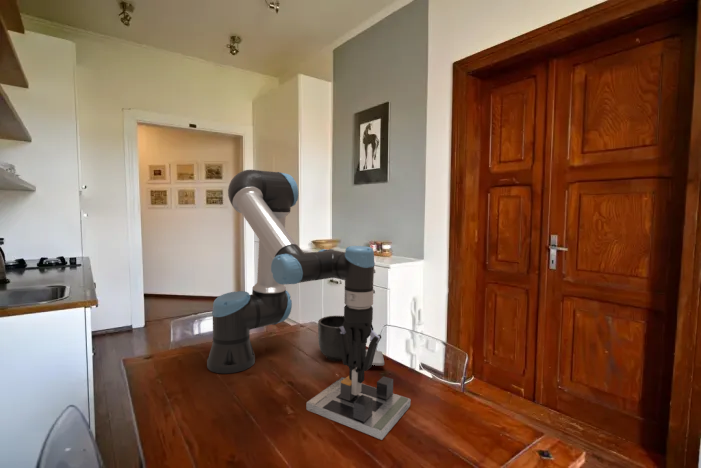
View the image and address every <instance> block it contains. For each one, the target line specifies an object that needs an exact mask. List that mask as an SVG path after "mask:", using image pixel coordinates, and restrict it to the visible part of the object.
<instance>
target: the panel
mask: <svg viewBox="0 0 701 468" xmlns="http://www.w3.org/2000/svg"><path fill="white" fill-rule="evenodd" d="M345 378H346V377H343V376H341V378H340V377H339V379H337V380H335V382H333V383H332V384H331V385H329V386H327V387H326V388H325V389H323V390H322V391H320V392H319V393H317V394H316V395H315V396H313V397H312V398H310V399H309V400H308V401H306V402H305V403H306V405H305V406H306V409H305V410H306V411H308V412H311V413H314V414H315V415H316V414H317V415H319V416H321V417H323V418H326V419H328V420H330V421H333V422H336V423H338V424H340V425H344V426H346V427H347V428H348V427H349V428H351V429H353V430H355V431H359V432H361V433H363V434H366V435H368V436H371V437H374V438H375V439H378V440H381V441H382V440H384V438H386V436H387V435H388V433H389V432H391V430H392V429H393V427H394V426H395V425H396V424H397V423H398V421H399V420H400V419H401V418H402V417H403V416H404V414H405V413H406V412H407V411H408V410H409V409H410V407H411V400H412V399H411V398H409V397H406V396H403V395H399V394H397V393H396V394H395V393H394V378H390V377H387V376H382V377H381V378H380V379H379V380H377V381H376V387H375V386H371V385H367V384H365V383H362V385H361V392H360V393H359V394H358V395H356V396H355V397H354V398H353V399H352V400H350V401H349V400H346V399H343V398H340V392H341V381H342V380H344V379H345Z"/></svg>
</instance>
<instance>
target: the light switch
mask: <svg viewBox="0 0 701 468" xmlns="http://www.w3.org/2000/svg"><path fill="white" fill-rule="evenodd" d="M367 351H368V348H366V355H367ZM372 365H373V367H375V366H382V367H383V366H384V365H385V360H384V354H383V352H382V351H380V350H379V351H378V350H376V351H375V355H374V359H373V363H372ZM374 365H375V366H374Z"/></svg>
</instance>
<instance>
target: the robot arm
mask: <svg viewBox="0 0 701 468" xmlns="http://www.w3.org/2000/svg"><path fill="white" fill-rule="evenodd" d="M227 194H228V195H227V196H228V200H229V202H230V205H231V206H232V207H233V209H234V210H235V211H236V212H238V213H239V214H242V216H243V217H244V219H245V221H246V222H247V223H248V225H249V227H250V228H251V229H252V231H253V233H255V235H256V237H257V238H258V256H257V257H258V259H257V279H256V280H257V281H256V283H255V284H254V285H253V286H252V291H251V294H250V293H249V292H248V291H243V290H239V291H230V292H226V293H222V294H221V295H218V297H216V298H215V299H214V301H213V303H212V313H211V315H212V344H211V348H210V351H209V355H208V357H207V359H206V360H207V361H206V367H207V370H209V371H210V372H212V373H215V374H216V373H217V374H235V373H238V372H239V373H240V372H242V371H245V370H248V369H250V368H251V367H252V366H254V364H255V363H256V362H255V361H256V355H255V352H254V348H253V345H252V343H251V342H252V341H251V340H250V338H251V337H250V333H251V332H250V331H251V330H254V329H258V328H263V327H267V326H271V325H272V326H274V325H277V324H279V323H282V322H283V323H284V321H286V320H287V319H288V318H289V316H290V314H291V312H292V307H293V302H292V298H291V294H290V293H289V291H288V290H287V289H286V286H285V285H295V284H302V283H305V282H306V283H308V282H312V281H321V280H328V279H338V280H343V281H344V305H345V306H344V307H343V316H344V319H345V321H344V323H343V326H341V327H339V328H336V330H335V331H336V333H337V335H338V338H339V343H340V349H341V355H342V360H343V361H342V364H343V365H344V366H347V367H348V369H349V370H348V371H349V373H348V376H349V379H350V380H352V390H351V394H353V395H355V396H356V395H358V394H359V393H360V392H361V385H362V384H363V382H364V381H365V372H367V371H368V370H369V369H371V368H372V363H373V359H374V355H375V351H377V347H378V343H379V342H380V341H381V340H382V335H381V334H377V333H376V332H375V330H374V327H373V321H374V320H373V318H374V313H373V312H374V307H373V304H374V279H375V278H374V277H375V276H374V275H375V252H374V248H373V247H370V246H366V245H365V246H364V245H351V246H347V247H346V248H345V251H339V250H334V249H330V248H329V249H325V248H324V249H323V248H322V249H319V251H312V252H304V251H303V250H302V248H300V246H299V245H298V244H297V242H296V241H295V240H294V238H293V237H292V236H291V235H290V233H289V231H287V229H286V218H287V216H288V215H290V214H291V208H293V207H294V206H295V205H296V204H297V202H298V201H299V188H298V184H297V182H296V180H295V178H294V177H293V176H292V175H291V174H289V173H285V172H279V171H270V170H269V171H267V170H258V169H246V170H242V171H240V172H238V173H236V175H235V176H234V177H232V179H231V180H230V182H229V185H228V189H227ZM347 335H348V338H347ZM369 337H370V338H369ZM368 339H369V341H370V342H369V343H368ZM367 343H368V344H369V345H368V348H367ZM367 349H368V351H367V355H366V350H367Z"/></svg>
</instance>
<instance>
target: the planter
mask: <svg viewBox="0 0 701 468" xmlns="http://www.w3.org/2000/svg"><path fill="white" fill-rule="evenodd" d="M344 321H345V319H344V315H329V316H324V317H321V318H320V319H318V320H317V334H318V335H317V336H318V346H319V350H320V352H321V353H322V355H323V356H325V358H326V359H327V360H330V361H332V362H343V360H342V355H341V349H340V343H339V338H338V335H337V333H336V331H335V330H336V328H339V327H341V326H343V323H344ZM347 338H348V335H347Z"/></svg>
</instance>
